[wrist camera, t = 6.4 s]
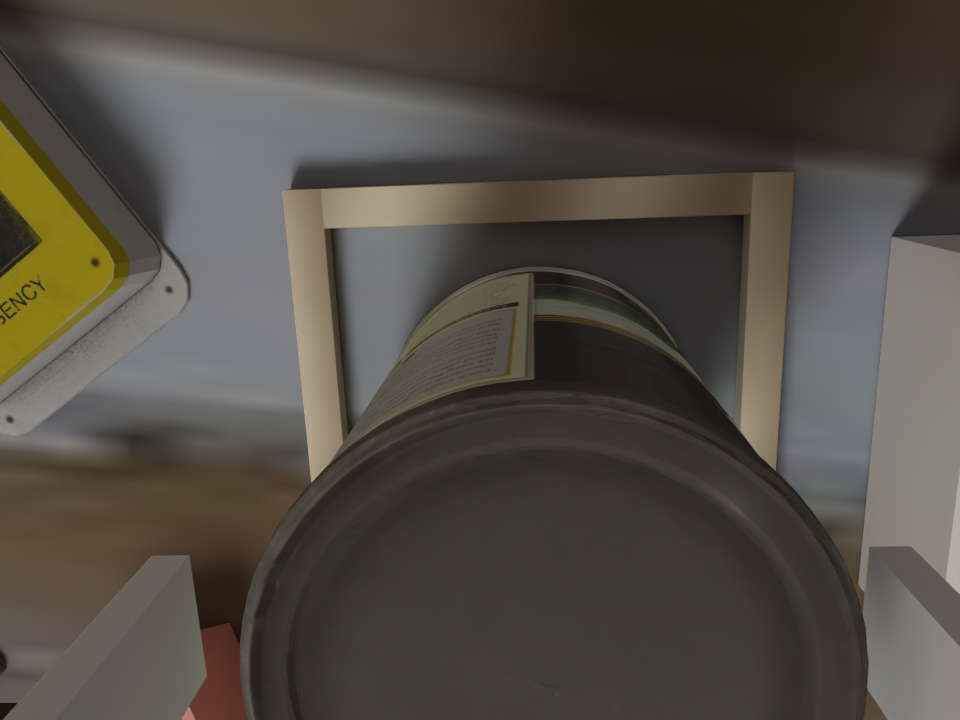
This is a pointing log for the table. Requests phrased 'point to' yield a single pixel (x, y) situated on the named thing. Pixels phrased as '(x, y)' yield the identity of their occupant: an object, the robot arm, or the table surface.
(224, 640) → the red die
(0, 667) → the calculator
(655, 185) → the frame
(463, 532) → the coffee can
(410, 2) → the table surface
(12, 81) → the emergency button
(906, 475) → the dome base
